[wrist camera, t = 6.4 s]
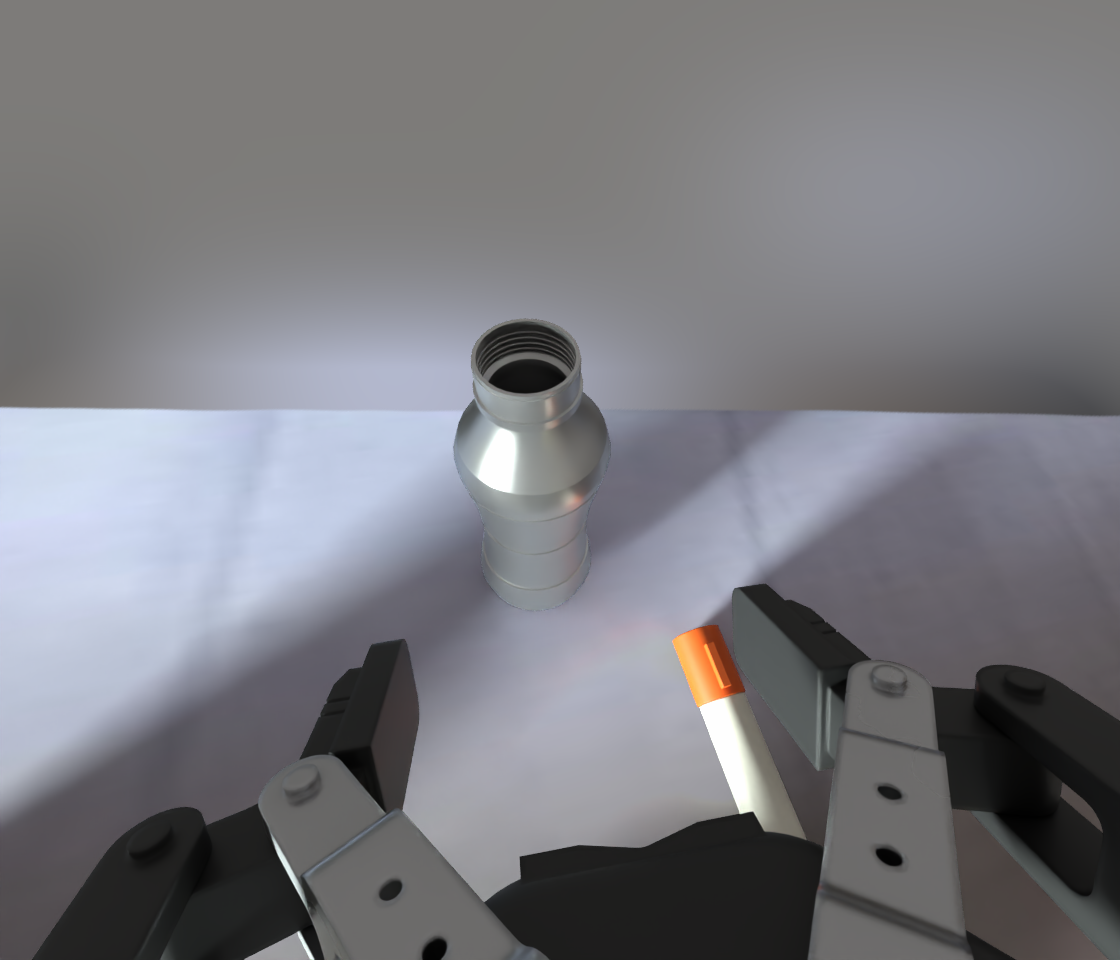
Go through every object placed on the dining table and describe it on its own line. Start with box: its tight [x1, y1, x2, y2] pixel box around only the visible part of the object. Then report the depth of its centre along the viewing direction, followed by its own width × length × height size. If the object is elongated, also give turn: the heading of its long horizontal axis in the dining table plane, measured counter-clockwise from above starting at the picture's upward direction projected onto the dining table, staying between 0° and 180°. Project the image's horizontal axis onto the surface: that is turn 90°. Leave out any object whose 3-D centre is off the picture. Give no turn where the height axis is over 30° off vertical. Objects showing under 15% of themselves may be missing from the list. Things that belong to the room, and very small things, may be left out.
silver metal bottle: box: [453, 319, 611, 611], centre depth 27 cm, size 6×7×20 cm
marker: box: [673, 625, 807, 840], centre depth 28 cm, size 16×3×3 cm, turn 16°
